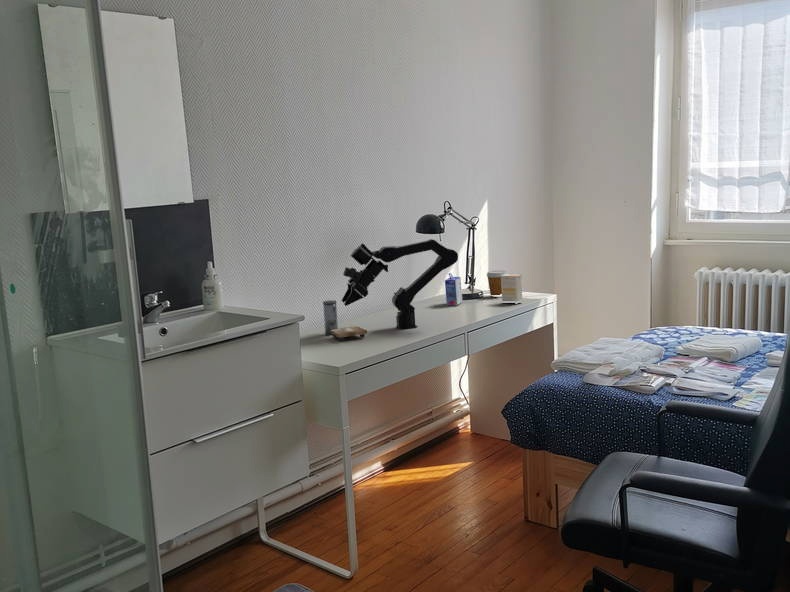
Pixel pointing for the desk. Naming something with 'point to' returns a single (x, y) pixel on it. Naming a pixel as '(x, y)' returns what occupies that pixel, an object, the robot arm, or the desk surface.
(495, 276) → the disposable coffee cup
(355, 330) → the frame
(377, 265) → the robot arm
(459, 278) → the ink cartridge box
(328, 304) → the canister
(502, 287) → the supplement box
